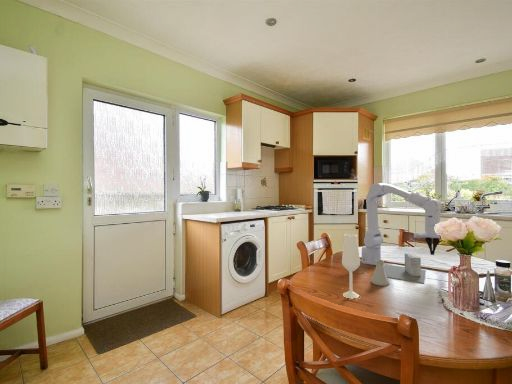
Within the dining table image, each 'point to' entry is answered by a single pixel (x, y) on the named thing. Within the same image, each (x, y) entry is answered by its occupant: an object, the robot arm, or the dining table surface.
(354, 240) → the champagne flute
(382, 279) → the flask
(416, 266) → the medicine box
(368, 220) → the robot arm
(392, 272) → the mat
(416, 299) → the dining table surface
